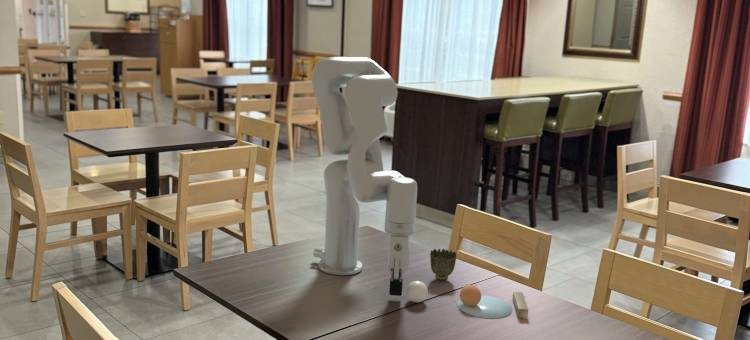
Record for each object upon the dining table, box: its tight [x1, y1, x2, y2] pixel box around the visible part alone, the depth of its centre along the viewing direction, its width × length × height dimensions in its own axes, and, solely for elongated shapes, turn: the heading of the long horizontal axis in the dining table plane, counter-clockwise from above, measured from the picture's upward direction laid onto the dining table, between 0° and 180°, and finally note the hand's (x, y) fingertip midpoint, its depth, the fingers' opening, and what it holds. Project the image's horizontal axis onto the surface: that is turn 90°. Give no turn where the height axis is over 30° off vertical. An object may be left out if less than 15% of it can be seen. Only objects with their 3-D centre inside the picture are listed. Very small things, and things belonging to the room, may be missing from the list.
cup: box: [429, 248, 457, 282], centre depth 193 cm, size 8×7×8 cm
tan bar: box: [512, 291, 529, 320], centre depth 176 cm, size 2×11×2 cm, turn 176°
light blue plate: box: [456, 294, 513, 320], centre depth 177 cm, size 14×14×1 cm
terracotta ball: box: [459, 284, 482, 306], centre depth 176 cm, size 6×6×6 cm
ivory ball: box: [406, 280, 429, 303], centre depth 177 cm, size 6×6×6 cm
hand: (395, 294), depth 178 cm, fingers closed
